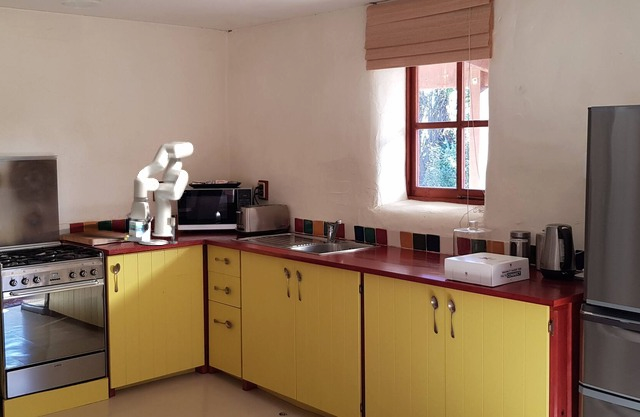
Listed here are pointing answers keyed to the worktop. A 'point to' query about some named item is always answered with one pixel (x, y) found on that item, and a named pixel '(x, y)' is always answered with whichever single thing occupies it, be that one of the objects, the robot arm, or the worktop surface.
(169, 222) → the gauge stand
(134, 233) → the light bulb box
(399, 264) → the worktop surface
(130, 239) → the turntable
